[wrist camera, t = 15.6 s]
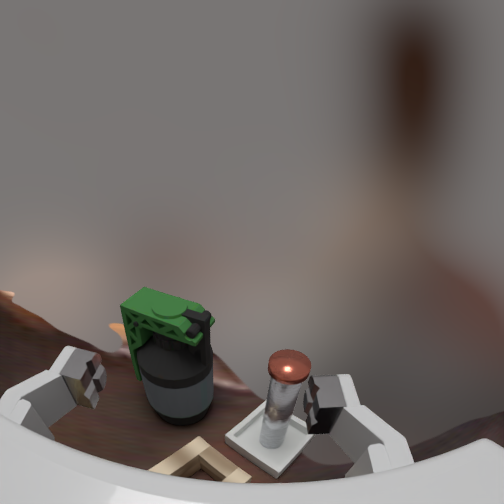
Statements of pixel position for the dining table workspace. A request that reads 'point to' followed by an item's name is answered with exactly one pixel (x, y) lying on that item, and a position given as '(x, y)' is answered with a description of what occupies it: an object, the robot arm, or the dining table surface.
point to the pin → (282, 394)
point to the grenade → (171, 353)
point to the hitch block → (201, 463)
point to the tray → (269, 460)
